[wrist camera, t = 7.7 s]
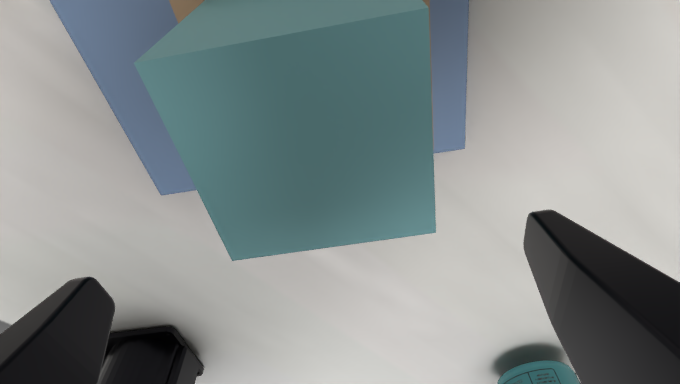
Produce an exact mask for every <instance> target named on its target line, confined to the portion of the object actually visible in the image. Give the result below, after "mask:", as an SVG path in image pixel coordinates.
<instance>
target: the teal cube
mask: <svg viewBox="0 0 680 384" xmlns="http://www.w3.org/2000/svg"><path fill="white" fill-rule="evenodd" d="M134 65H135V67H136V69H137V71H138V73H139V75H140V77H141V79H142V81H143V83H144V85H145V87H146V89H147V91H148V93H149V95H150V97H151V99H152V101H153V103H154V105H155V107H156V109H157V111H158V113H159V115H160V117H161V119H162V121H163V123H164V125H165V127H166V129H167V131H168V133H169V135H170V137H171V139H172V141H173V143H174V145H175V147H176V149H177V151H178V153H179V155H180V157H181V159H182V161H183V163H184V165H185V167H186V169H187V171H188V173H189V175H190V177H191V179H192V181H193V183H194V185H195V187H196V189H197V191H198V193H199V195H200V197H201V199H202V201H203V203H204V205H205V207H206V209H207V211H208V213H209V215H210V217H211V219H212V221H213V223H214V225H215V227H216V229H217V231H218V233H219V235H220V237H221V239H222V241H223V243H224V245H225V247H226V249H227V251H228V253H229V255H230V257H231V259H232V261H234V260H242V259H249V258H256V257H263V256H271V255H278V254H285V253H292V252H299V251H307V250H314V249H321V248H328V247H335V246H343V245H350V244H357V243H364V242H372V241H379V240H386V239H393V238H400V237H408V236H415V235H422V234H429V233H436V222H435V191H434V160H433V129H432V98H431V67H430V36H429V7H428V6H427V5H426V4H425V3H424V2H423V0H205V1H203V2H202V3H201V4H200V5H199V6H198V7H197V8H195V9H194V10H193V11H192V12H191V13H190V14H189V15H188V16H186V17H185V18H184V19H183V20H182V21H181V22H180V23H179V24H177V25H176V26H175V27H174V28H173V29H172V30H171V31H169V32H168V33H167V34H166V35H165V36H164V37H163V38H162V39H160V40H159V41H158V42H157V43H156V44H155V45H154V46H152V47H151V48H150V49H149V50H148V51H147V52H146V53H145V54H143V55H142V56H141V57H140V58H139V59H138V60H137V61H135V62H134Z"/></svg>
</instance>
